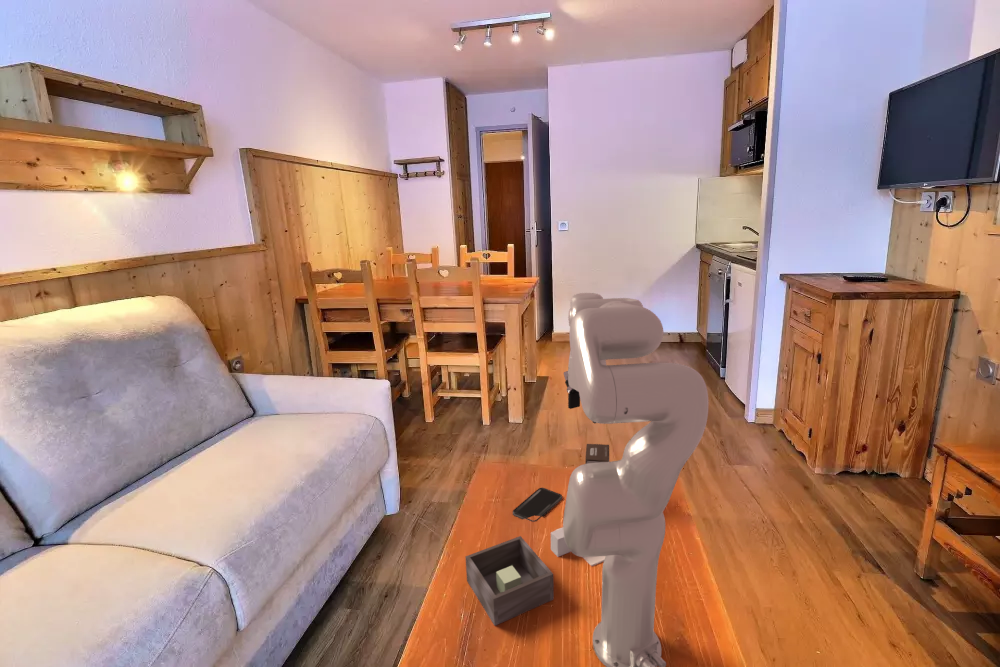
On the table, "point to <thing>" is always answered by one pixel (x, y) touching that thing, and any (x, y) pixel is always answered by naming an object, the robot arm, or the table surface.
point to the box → (519, 598)
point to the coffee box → (597, 453)
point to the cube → (507, 578)
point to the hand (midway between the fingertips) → (585, 414)
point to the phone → (537, 504)
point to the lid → (561, 548)
